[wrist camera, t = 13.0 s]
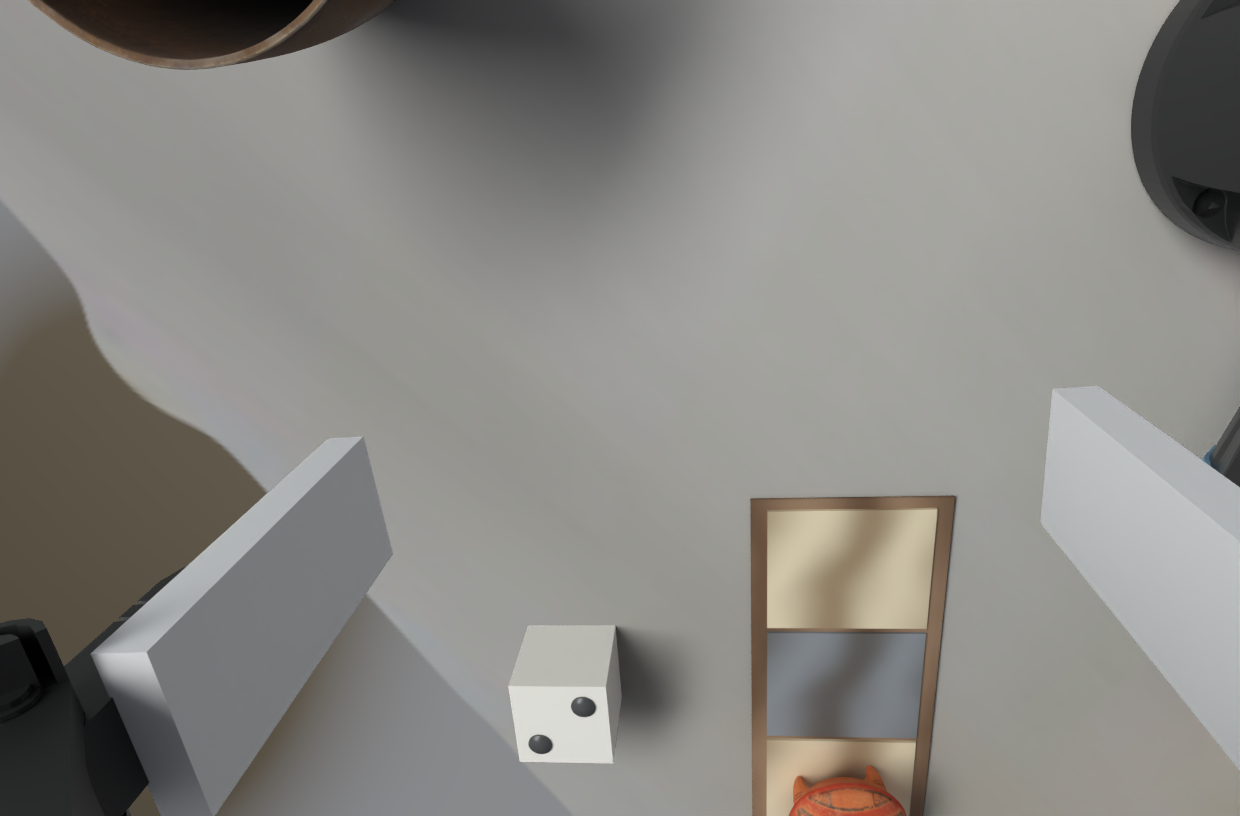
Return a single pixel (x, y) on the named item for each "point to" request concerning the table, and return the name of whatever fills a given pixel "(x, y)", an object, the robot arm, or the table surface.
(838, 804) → the pot
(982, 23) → the table surface
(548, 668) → the die
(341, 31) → the plant pot
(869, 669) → the board
